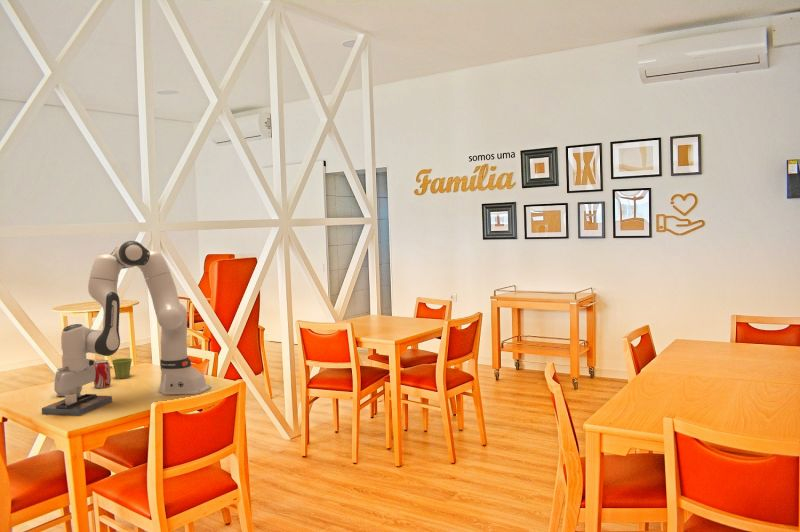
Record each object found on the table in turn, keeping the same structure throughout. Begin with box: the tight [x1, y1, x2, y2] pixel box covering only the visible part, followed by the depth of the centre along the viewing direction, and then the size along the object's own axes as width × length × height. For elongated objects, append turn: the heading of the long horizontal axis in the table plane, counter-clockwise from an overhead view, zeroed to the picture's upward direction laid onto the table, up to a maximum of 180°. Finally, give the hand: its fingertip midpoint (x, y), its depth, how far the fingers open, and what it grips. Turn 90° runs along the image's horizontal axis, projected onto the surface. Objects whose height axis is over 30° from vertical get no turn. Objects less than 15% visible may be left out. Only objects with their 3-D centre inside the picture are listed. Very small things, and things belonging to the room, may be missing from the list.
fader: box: [64, 393, 77, 405], centre depth 257 cm, size 3×3×4 cm
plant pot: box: [110, 357, 133, 380], centre depth 312 cm, size 9×9×9 cm
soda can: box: [93, 359, 112, 389], centre depth 294 cm, size 7×7×12 cm
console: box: [41, 393, 113, 417], centre depth 261 cm, size 17×20×5 cm
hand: (76, 398), depth 260 cm, fingers closed
